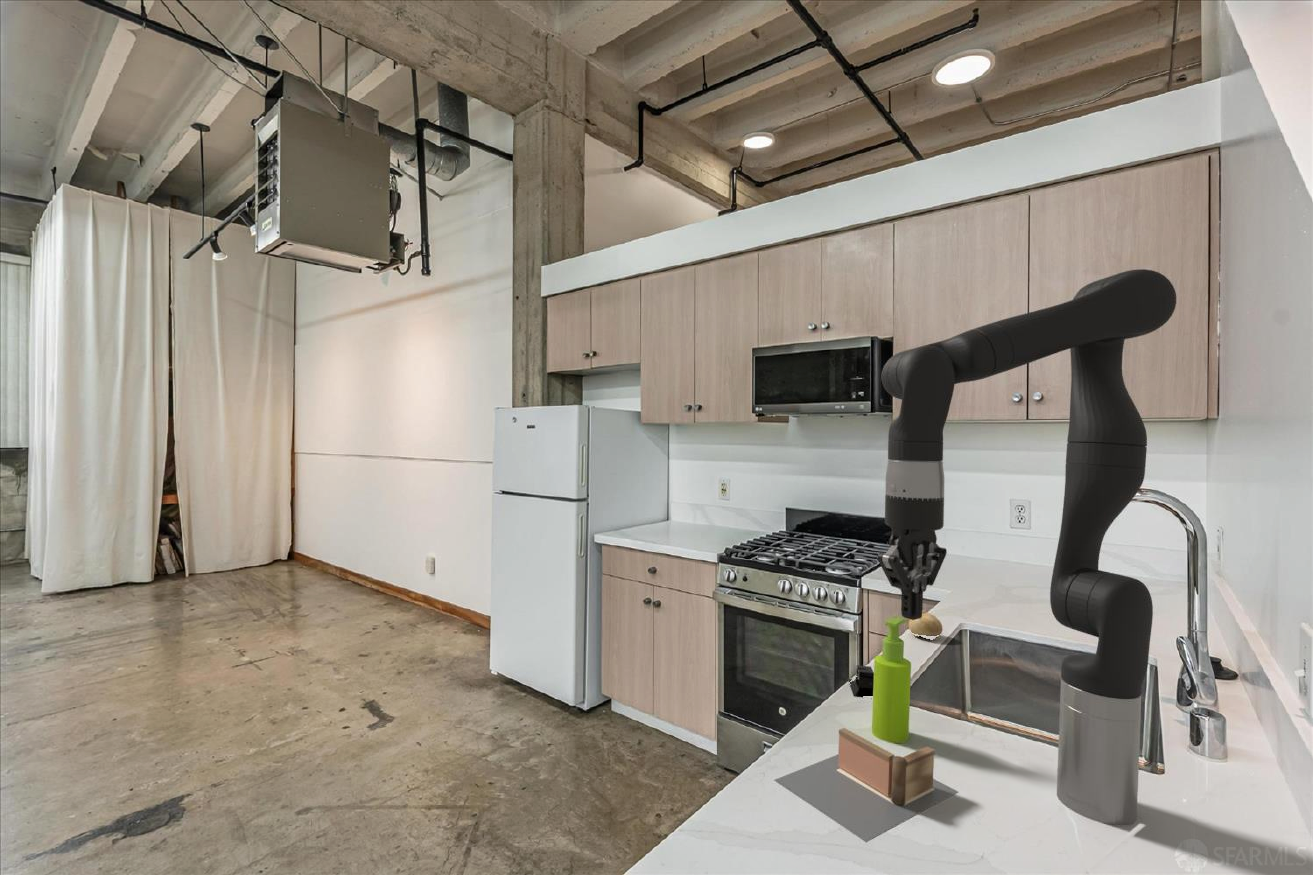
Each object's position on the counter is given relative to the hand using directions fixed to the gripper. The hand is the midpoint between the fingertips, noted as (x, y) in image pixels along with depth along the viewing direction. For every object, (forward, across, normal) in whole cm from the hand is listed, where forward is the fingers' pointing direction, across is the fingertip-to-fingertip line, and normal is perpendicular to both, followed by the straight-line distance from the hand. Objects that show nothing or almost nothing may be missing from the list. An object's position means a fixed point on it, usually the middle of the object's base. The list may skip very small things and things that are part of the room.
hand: (911, 617), depth 86 cm
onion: (+28, +70, +43) cm, 87 cm away
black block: (+28, +28, +29) cm, 49 cm away
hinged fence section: (+26, -1, +7) cm, 26 cm away
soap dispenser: (+27, +16, +14) cm, 34 cm away
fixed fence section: (+26, +2, +1) cm, 26 cm away
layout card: (+26, -2, +6) cm, 27 cm away
